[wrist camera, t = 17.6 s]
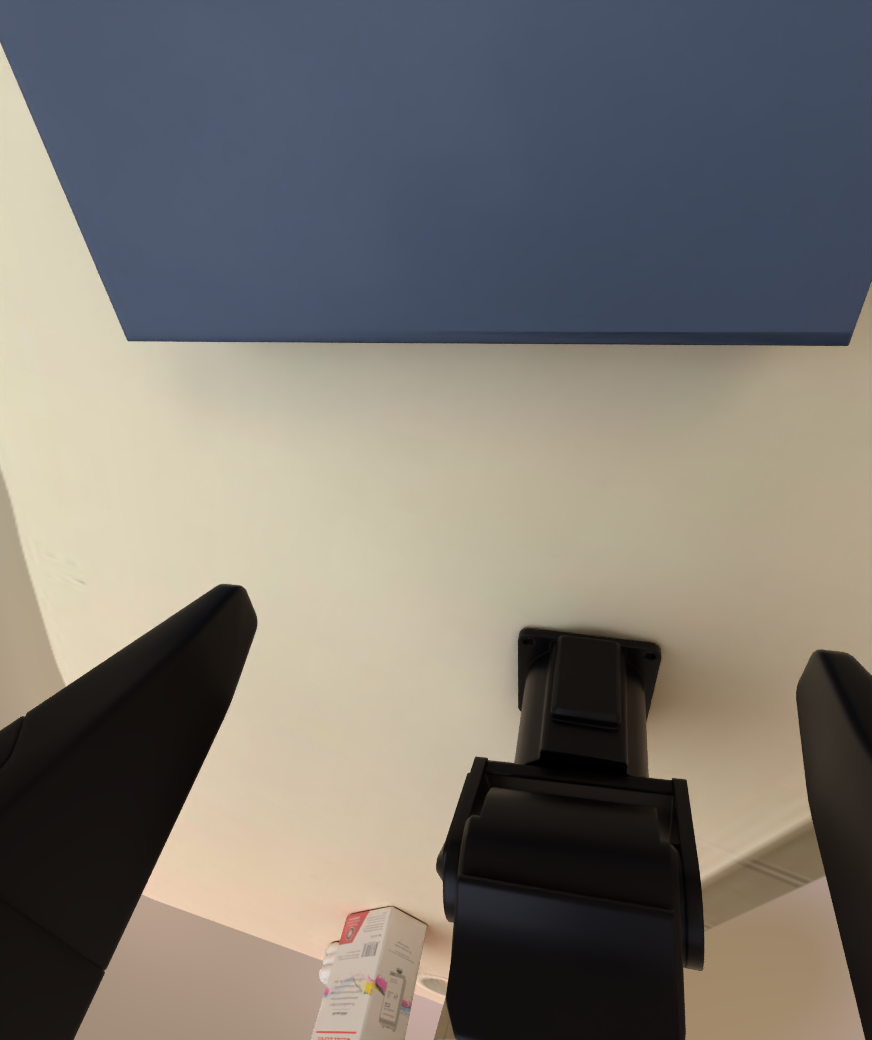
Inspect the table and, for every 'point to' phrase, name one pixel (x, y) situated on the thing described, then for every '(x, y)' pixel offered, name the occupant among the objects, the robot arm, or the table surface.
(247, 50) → the book
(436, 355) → the table surface
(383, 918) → the ink cartridge box
